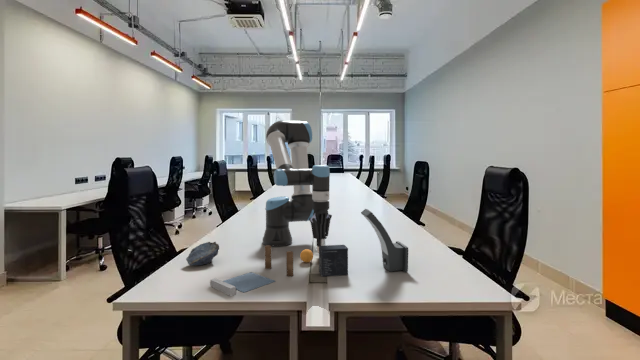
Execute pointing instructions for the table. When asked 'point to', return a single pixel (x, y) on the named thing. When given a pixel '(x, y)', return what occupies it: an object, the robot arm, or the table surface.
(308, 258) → the ball
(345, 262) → the box
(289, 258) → the post
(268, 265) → the post
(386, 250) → the grey curved piece
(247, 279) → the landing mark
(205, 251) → the rock
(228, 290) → the wall
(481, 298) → the table surface
